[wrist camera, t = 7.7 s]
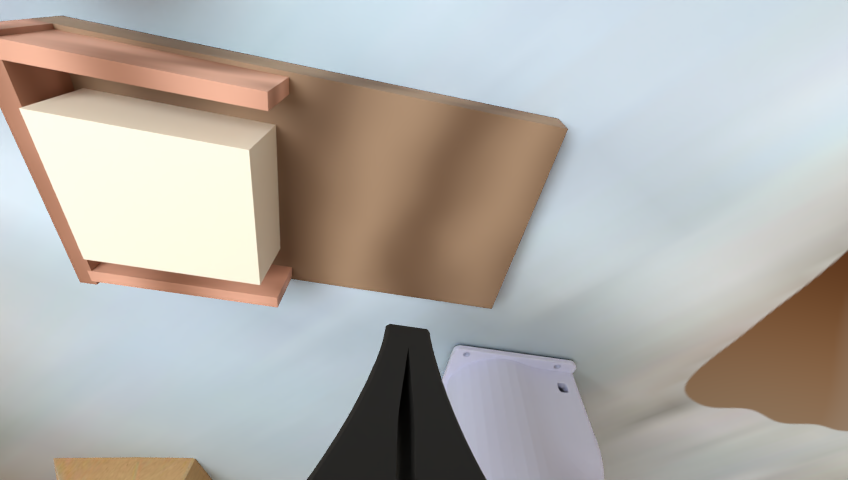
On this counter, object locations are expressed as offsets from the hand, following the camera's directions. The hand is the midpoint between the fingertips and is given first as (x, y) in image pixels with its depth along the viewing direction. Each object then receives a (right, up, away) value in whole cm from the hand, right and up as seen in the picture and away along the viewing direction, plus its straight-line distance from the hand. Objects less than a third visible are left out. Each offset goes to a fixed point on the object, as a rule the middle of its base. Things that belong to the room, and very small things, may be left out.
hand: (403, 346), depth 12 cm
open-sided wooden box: (-5, +6, +8) cm, 11 cm away
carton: (-11, +6, +6) cm, 14 cm away
